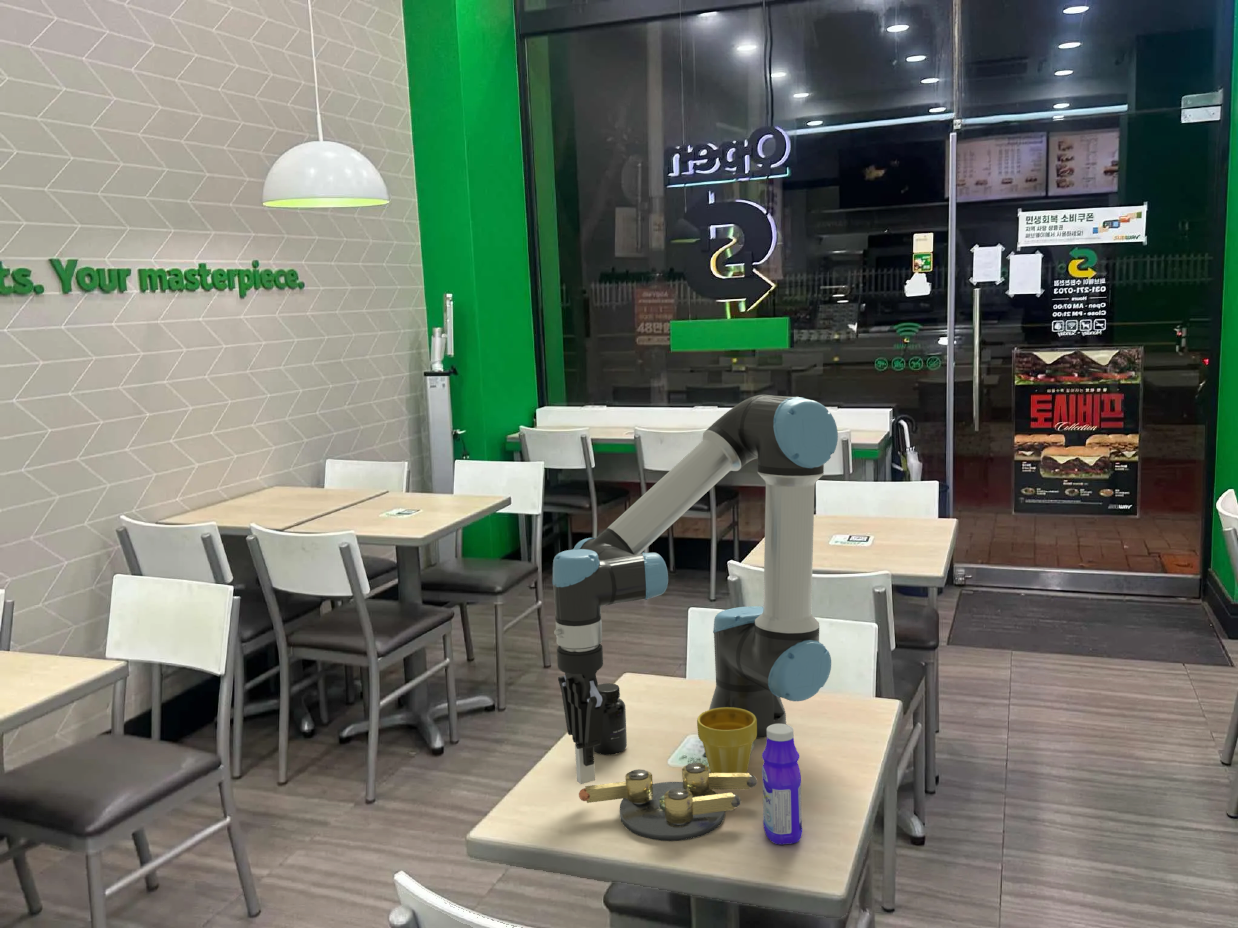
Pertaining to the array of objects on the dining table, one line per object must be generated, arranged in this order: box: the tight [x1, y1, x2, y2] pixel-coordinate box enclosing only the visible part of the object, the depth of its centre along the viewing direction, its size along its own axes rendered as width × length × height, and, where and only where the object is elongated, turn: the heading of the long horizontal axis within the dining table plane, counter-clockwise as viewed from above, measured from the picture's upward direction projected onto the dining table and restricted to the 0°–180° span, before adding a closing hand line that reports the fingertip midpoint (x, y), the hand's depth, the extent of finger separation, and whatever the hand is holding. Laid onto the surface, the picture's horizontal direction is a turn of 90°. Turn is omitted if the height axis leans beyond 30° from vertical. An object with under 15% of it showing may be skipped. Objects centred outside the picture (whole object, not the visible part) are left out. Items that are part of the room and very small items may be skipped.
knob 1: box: [578, 768, 654, 804], centre depth 168 cm, size 12×4×4 cm, turn 99°
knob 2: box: [664, 788, 742, 824], centre depth 162 cm, size 12×4×4 cm, turn 99°
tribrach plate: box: [619, 781, 726, 842], centre depth 167 cm, size 17×17×3 cm
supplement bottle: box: [594, 682, 628, 756], centre depth 193 cm, size 7×7×12 cm
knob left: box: [681, 762, 758, 796], centre depth 170 cm, size 12×4×4 cm, turn 84°
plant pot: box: [696, 707, 757, 773], centre depth 181 cm, size 10×10×10 cm
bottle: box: [761, 723, 803, 845], centre depth 158 cm, size 7×6×17 cm
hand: (586, 780), depth 172 cm, fingers closed
